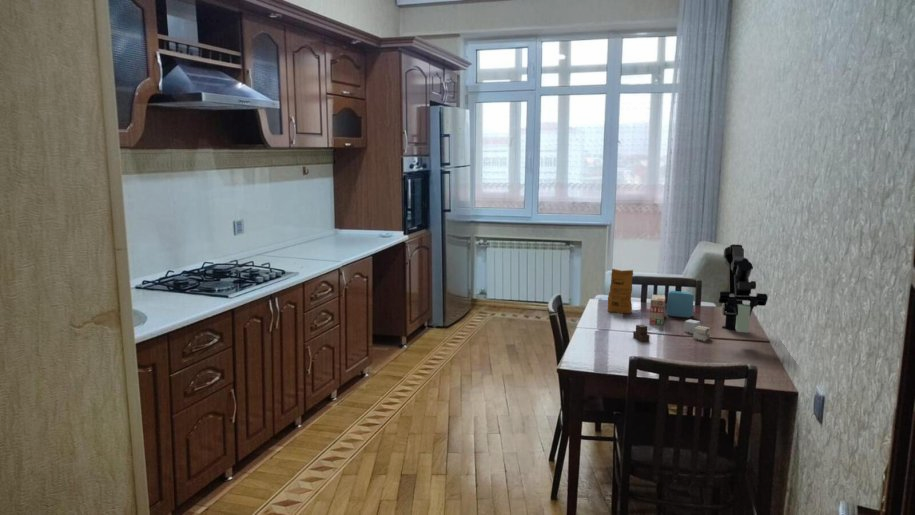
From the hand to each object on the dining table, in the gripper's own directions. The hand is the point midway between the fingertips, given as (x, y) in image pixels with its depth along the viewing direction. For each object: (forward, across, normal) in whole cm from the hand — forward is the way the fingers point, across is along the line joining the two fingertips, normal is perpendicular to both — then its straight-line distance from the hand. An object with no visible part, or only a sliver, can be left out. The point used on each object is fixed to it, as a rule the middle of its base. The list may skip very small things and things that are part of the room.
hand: (743, 315), depth 269 cm
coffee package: (-25, -52, +45) cm, 73 cm away
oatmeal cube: (+4, -15, +15) cm, 22 cm away
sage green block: (+4, 0, +6) cm, 7 cm away
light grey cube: (-3, -18, +23) cm, 29 cm away
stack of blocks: (-16, -33, +36) cm, 52 cm away
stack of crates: (+11, -40, +9) cm, 42 cm away
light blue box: (-25, -22, +44) cm, 55 cm away
